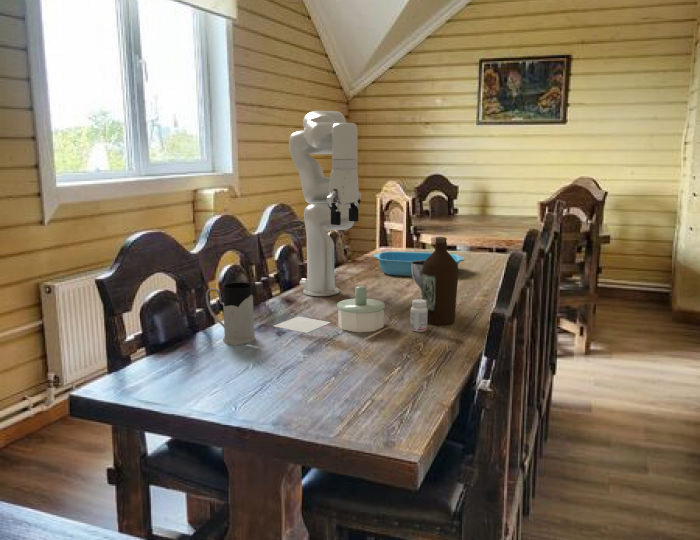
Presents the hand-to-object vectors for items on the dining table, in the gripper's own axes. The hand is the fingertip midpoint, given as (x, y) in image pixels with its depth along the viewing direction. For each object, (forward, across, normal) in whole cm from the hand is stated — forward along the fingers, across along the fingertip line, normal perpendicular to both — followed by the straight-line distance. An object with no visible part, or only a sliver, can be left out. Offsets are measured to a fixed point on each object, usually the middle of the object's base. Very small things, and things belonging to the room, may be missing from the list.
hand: (344, 222), depth 186 cm
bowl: (+28, +10, +12) cm, 32 cm away
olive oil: (+28, -8, +28) cm, 41 cm away
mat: (+28, +18, -3) cm, 34 cm away
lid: (+22, +10, +12) cm, 27 cm away
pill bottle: (+28, +3, +27) cm, 39 cm away
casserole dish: (+29, -69, -9) cm, 75 cm away
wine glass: (+28, -18, +18) cm, 38 cm away
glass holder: (+28, +38, -12) cm, 49 cm away
